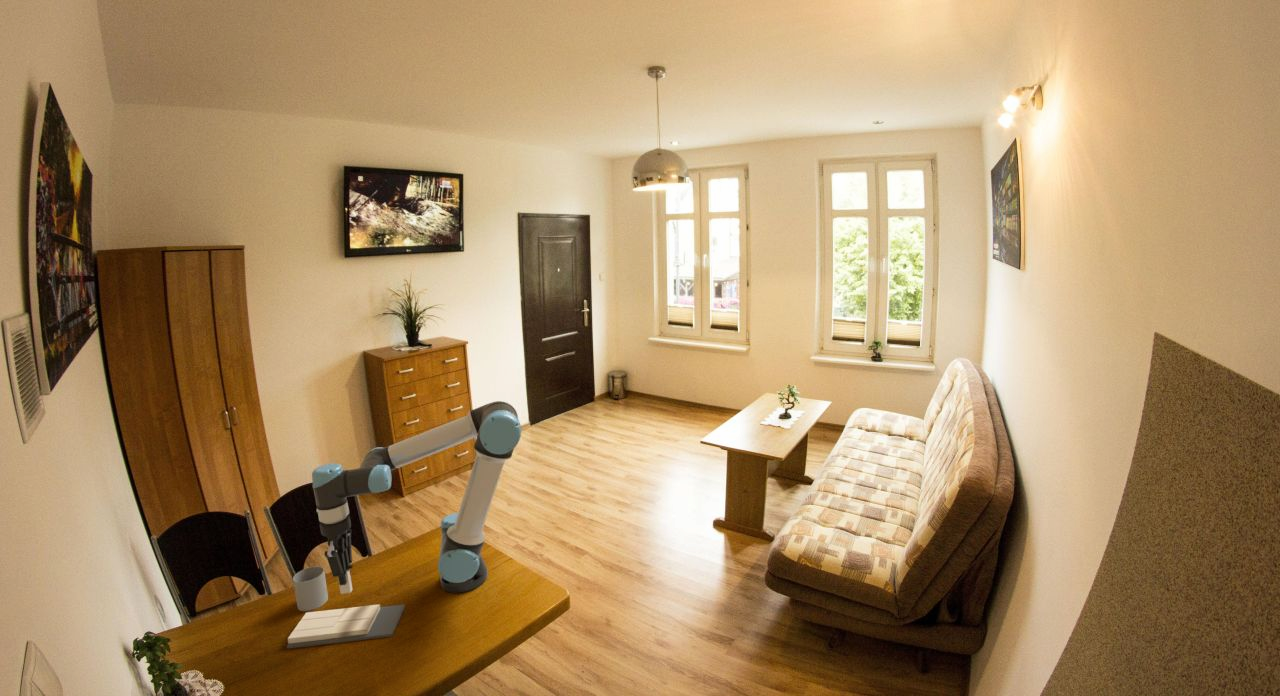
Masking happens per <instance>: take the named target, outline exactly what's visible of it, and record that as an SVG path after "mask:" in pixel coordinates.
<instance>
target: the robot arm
mask: <svg viewBox="0 0 1280 696" xmlns="http://www.w3.org/2000/svg"><path fill="white" fill-rule="evenodd" d="M521 437H522V425H521V422H520V419H519V416H518V412H517V410H516V409H515V407H513V405H512V404H511V403H508V402H506V401H500V400H499V401H498V400H497V401H492V402H489V403H486V404H483V405H482V406H479V407H477V408H474V409H471V410H469V411H468V413H467V415H465V416H462V417H460V418H457V419H455V420H452V421H450V422H447V423H445V424H442V425H439V426H437V427H434V428H431V429H428V430H427V431H424V432H422V433H419V434H417V435H413V436H411V437H409V438H406V439H403V440H400V441H398V442H395V443H393V444H391V445H388V446H385V447H381V446H380V447H379V446H378V447H374V448H372V449H370V450H369V451H368V452H367V454H366V455H365V456H364V458H363V461H362V463H361V464H360V466H359V468H354V469H343V467H342V465H341V464H340V463H338V462H337V463H333V462H332V463H326V464H323V465H320V466H317V467H316V468H314V470H313V471H312V472H311V479H312V480H311V482H312V489H313V494H314V498H315V505H316V511H315V512H316V513H317V515H318V521H319V529H320V534H321V535H322V536H323V537H326V538H327V546H328V550H326V551H324V557H325V558H326V559H327V562H328V566H329V568H330V572H331V574H332V577H333V578H337V579H338V585H339V592H340V595H344V594H351V593H352V591H353V583H352V577H351V573H350V571H351V570H350V569H353V567H354V566H353V564H352V562H353V554H352V553H353V552H352V523H351V522H352V521H351V516H350V508H349V503H348V502H349V501H348V499H347V498H349V497H351V498H352V497H356V496H362V495H363V496H364V495H370V494H378V493H381V492H386V491H388V490H390V489H391V487H392V479H393V477H392V471H394V470H396V469H399V468H401V467H404V466H406V465H409V464H412V463H414V462H417V461H419V460H422V459H425V458H426V457H429V456H432V455H434V454H437V453H439V452H442V451H445V450H447V449H449V448H452V447H455V446H457V445H460V444H462V443H464V442H467V441H469V440H472V439H475V442H474V445H473V450H474V451H475V453H476V455H475V459H474V461H473V466H472V467H471V471H470V474H469V478H468V481H467V483H466V487H465V490H464V493H463V496H462V499H461V503H460V506H459V509H458V512H453V513H451V514H448V515H446V516H445V517H443V518H442V519H441V521H440V530H441V542H440V549H439V556H438V561H437V569H438V572H439V575H440V577H439V578H440V586H441V588H442V589H443V590H444V591H446V592H448V593H454V594H455V593H456V594H457V593H465V592H469V591H472V590H474V589H476V588H478V587H480V586H481V585H482V584H483V583H485V581H486V580H487V578H488V575H489V573H488V567H487V564H486V562H485V560H484V559H483V555H482V553H481V552H482V549H483V547H484V544H485V540H486V535H485V533H484V531H483V530H484V527H485V523H486V521H487V517H488V513H489V512H490V508H491V505H492V501H493V499H494V496H495V493H496V489H497V487H498V483H499V480H500V477H501V474H502V471H503V468H504V464H505V461H507V460H510V459H511V458H512V456H513V452H514V450H515V448H516V447H517V445H518V444H519V442H520V440H521ZM351 564H352V565H351Z"/></svg>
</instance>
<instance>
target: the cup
mask: <svg viewBox="0 0 1280 696" xmlns="http://www.w3.org/2000/svg"><path fill="white" fill-rule="evenodd" d="M292 580H293V587H294V594H295V599H296V606H297V610H298V611H301V612H311V611H313V610H317V609H318V608H320V607H322V606H323V605H324V604H326V602H328V600H329V594H328V588H327V581H326V573H325V569H324V567H323V566H320V565H316V566H314V565H313V566H310V567H306V568H304V569H302V570H300V571H298V572H297V573H296V574H294V576H293V577H292Z"/></svg>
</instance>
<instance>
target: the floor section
mask: <svg viewBox="0 0 1280 696" xmlns="http://www.w3.org/2000/svg"><path fill="white" fill-rule="evenodd" d="M405 608H406V605H405V604H397V605H387V606H380V611H379V613H378V615H377V616H376V618H375V620H374V622H373V624H372V626H371V628H370V630H369V632H368V634H363V635H355V636H347V637H339V638H330V633H331V631H332V629H333V628H334V626H335V624H336V623H337V621H338V620H339V618H340V616H341V615H342V613H343V611H344V610H345V608H337V609H336V608H335V609H327V610H319V611H306V612H305V614H304V615H303V616H302V618H301V619H300V621H299V622H298V623H297V625H296V626H295V628H294V629H293V630H292V632H291V633H290V635H289V636H288V637H287V643H288V644H287V645H286V649H288V650H289V649H294V648H295V649H296V648H303V647H304V648H305V647H306V648H307V647H313V646H322V645H328V644H329V645H330V644H338V643H346V642H355V641H362V640H371V639H380V638H388V637H389V638H391V637H393V636H394V633H395V631H396V628H397V626H398V625H399V621H400V619H401V617H402V614H403V612H404V610H405Z"/></svg>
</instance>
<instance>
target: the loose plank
mask: <svg viewBox="0 0 1280 696" xmlns="http://www.w3.org/2000/svg"><path fill="white" fill-rule="evenodd" d="M380 607H381V604H380V603H379V604H377V603H376V604H371V605H370V604H369V605H363V606H355V607H347V608H345V610H344V611H343V613H342V615H341V616H340V618H339V620H338V621H337V623H336V624H335V626H334V628H333V629H332V631H331V633H330V638H339V637H347V636H355V635H363V634H368V632H369V630H370V628H371V626H372V624H373V622H374V620H375V618H376V616H377V615H378V613H379V611H380Z"/></svg>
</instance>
